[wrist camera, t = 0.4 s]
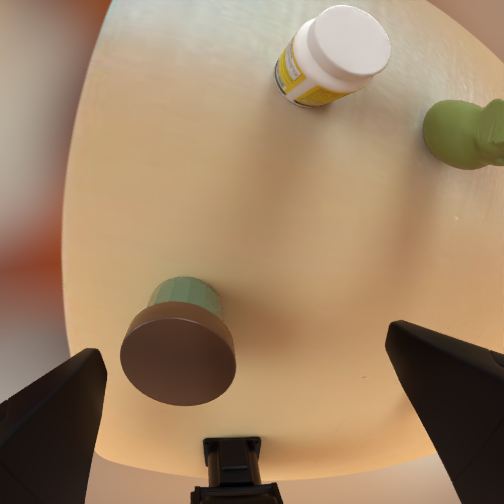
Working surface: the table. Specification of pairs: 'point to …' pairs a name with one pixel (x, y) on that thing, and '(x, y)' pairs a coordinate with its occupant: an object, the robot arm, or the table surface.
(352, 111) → the table surface
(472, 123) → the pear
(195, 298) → the plastic cup
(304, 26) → the supplement bottle
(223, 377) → the walnut chip
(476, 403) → the robot arm
